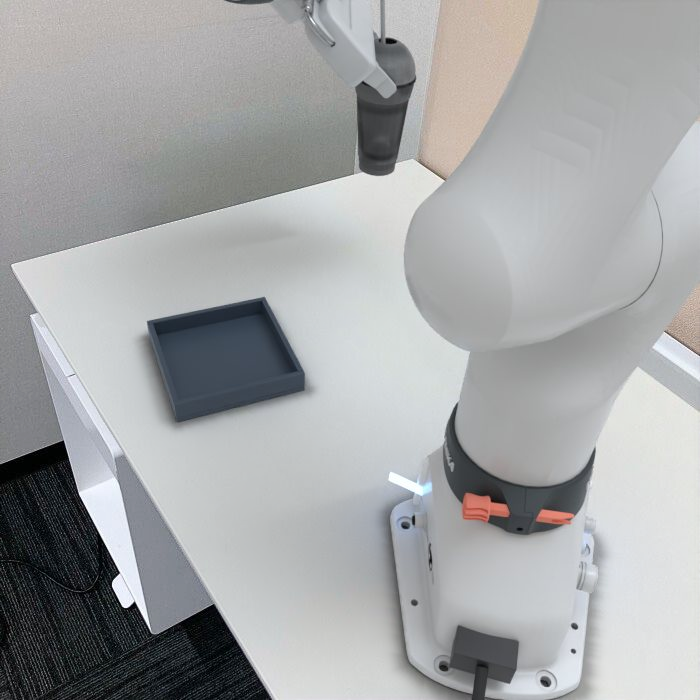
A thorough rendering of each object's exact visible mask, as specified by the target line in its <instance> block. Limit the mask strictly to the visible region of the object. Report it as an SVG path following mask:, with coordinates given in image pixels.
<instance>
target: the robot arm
mask: <svg viewBox="0 0 700 700" xmlns="http://www.w3.org/2000/svg"><path fill="white" fill-rule="evenodd" d="M224 2H227V3H232V4H237V5H247V6H248V5H251V6H252V5H264V4H269V5H270V6H271V8H273V10H274V11H275V12H276V13H277V14H278V15H279V16H280V17H281V18H282V19H283V20H284V22H285V23H286V24H287V25H288V24H289V25H291V24H294V23H296V22H298V21H299V20H300V22H302V24H303V25H304V33H305V35H306V38H307V40H308V41H309V43H310V44H311V45H312V46H313V48H314V49H315V51H316V52H317V53H318V54H319V55H320V57H321V58H322V59H323V60H324V62H325V63H326V64H327V65H328V66H329V68H330V69H331V70H332V71H333V72H334V73H335V75H336V76H337V77H338V78H339V79H340V80H341V82H342V83H344V84H345V85H346V86H348V87H349V88H354V89H355V87H356V86H357V85H358V84H360V83H361V82H362V81H364V82H365V83H367V84H369V85H370V86H372V87H373V88H375V89H376V90H377V91H378V92H379V93H380V94H381V95H382V96H383V97H384V98H389V97H390V96H391V95H392V94H393V93H395V92H396V89H397V88H396V83H395V81H394V80H393V79H392V78H391V76H390V75H389V74H388V73H385V72H384V71H383V70H382V69H381V68H380V67H379V65H378V63H377V61H376V56H375V46H374V40H376V39H379V38H381V35H379V33H378V31H377V29H376V28H375V27H374V26H373V15H372V7H371V5H370V2H369V1H368V0H224ZM532 21H533V22H532V24H531V27H530V29H529V33H528V36H527V39H526V41H525V44H524V46H523V49H522V51H521V54H520V57H519V59H518V61H517V64H516V66H515V67H514V70H513V72H512V74H511V76H510V79H509V80H508V82H507V84H506V86H505V89H504V90H503V92H502V94H501V97H500V98H499V100H498V102H497V104H496V105H495V108H494V109H493V111H492V113H491V115H490V117H489V119H488V120H487V122H486V123H485V125H484V127H483V129H482V130H481V132H480V133H479V135H478V137H477V139H476V140H475V142H473V145H472V146H471V148H470V149H469V151H468V152H467V153H466V155H465V156H464V157H463V159H462V160H461V161H460V163H459V164H458V166H457V167H456V168H455V169H454V170H453V171H452V172H451V174H450V175H449V176H448V177H447V178H446V179H445V180H444V181H443V183H441V184H440V186H438V187H437V188H436V189H435V190H434V191H433V192H432V193H431V194H430V195H429V196H428V197H427V198H425V199H424V200H423V201H422V202H421V203H420V204H419V205H418V207H416V210H415V211H414V213H413V215H412V216H411V219H410V222H409V225H408V228H407V231H406V234H405V235H406V236H405V240H404V246H403V269H404V277H405V281H406V282H405V283H406V286H407V289H408V292H409V295H410V297H411V300H412V302H413V303H414V306H415V307H416V309H417V311H418V312H419V315H420V316H421V317H422V319H424V321H425V322H426V324H427V325H428V326H429V327H430V328H431V329H432V330H433V331H434V332H435V333H436V334H437V335H439V337H441V338H442V339H444V340H445V341H446V342H448V343H449V344H451V345H452V346H455V347H456V348H458V349H461V350H462V351H466V352H469V353H468V359H467V363H466V368H465V371H464V376H463V381H462V385H461V389H460V394H459V398H458V401H457V402H456V403H455V405H454V407H453V408H452V411H451V413H450V416H449V418H448V420H447V421H446V422H447V423H446V426H445V430H444V435H443V439H444V440H443V444H442V445H441V446H440V447H437V449H436V450H434V451H433V452H431V453H429V454H428V455H427V456H426V457H424V458H423V459H422V461H421V465H420V469H419V473H418V477H417V481H416V482H414V481H412V480H409V479H408V478H405V477H403V476H401V475H399V474H396V473H394V472H392V471H390V473H389V475H388V481H390V482H391V483H393V484H395V485H398V486H401V487H402V488H405V489H407V490H409V491H411V492H413V493H414V494H413V496H412V498H411V497H410V498H409V499H407V500H404V501H401V502H399V503H397V504H396V505H395V506H394V507H393V508H392V511H391V514H390V516H389V523H390V532H391V539H392V540H391V541H392V546H393V547H392V549H393V555H394V556H393V557H394V564H395V572H396V580H397V586H398V595H399V603H400V609H401V610H400V611H401V618H402V619H401V620H402V627H403V634H404V642H405V650H406V655H407V659H408V661H409V663H410V664H411V665H412V666H413V667H414V668H415V669H417V670H418V671H419V672H420V673H421V674H423V675H424V676H426V677H427V678H429V679H431V680H433V681H434V682H437V683H439V684H441V685H442V686H445V687H447V688H451V689H453V690H456V691H459V692H463V693H466V694H469V695H471V700H486V699H485V698H487V699H495V700H552V699H556V698H560V697H563V696H565V695H567V694H569V693H571V692H573V691H575V690H576V689H577V688H578V686H580V683H581V678H582V672H583V664H584V656H585V655H584V654H585V643H586V634H587V633H586V632H587V623H588V615H589V614H588V612H589V603H590V594H592V593H594V592H595V590H596V588H597V584H598V580H599V567H598V565H596V564H593V563H594V552H595V539H594V537H593V535H594V533H595V531H596V529H597V528H596V527H597V519H596V518H593V517H590V516H587V511H588V504H589V495H590V492H591V491H592V489H593V486H594V482H593V481H592V478H593V473H594V468H595V467H594V464H595V461H596V460H595V459H596V452H597V449H596V448H597V447H596V446H597V443H598V441H599V438H600V436H601V434H602V432H603V429H604V427H605V425H606V423H607V420H608V418H609V416H610V414H611V412H612V410H613V407H614V405H615V403H616V401H617V399H618V397H619V395H620V394H621V392H622V390H623V389H624V387H625V385H626V384H627V382H628V381H629V380H630V377H631V376H632V375H633V373H634V372H635V371H636V370H637V368H638V367H639V365H640V364H641V363H642V362H643V360H644V359H645V358H646V356H647V355H648V354H649V352H650V351H651V350H652V349H653V347H654V346H655V345H656V343H657V342H658V341H659V340H660V338H661V337H662V336H663V334H664V333H665V331H666V330H667V329H668V327H669V326H670V324H671V323H672V322H673V320H674V319H675V317H676V316H677V315H678V314H679V312H680V310H681V309H682V308H683V306H684V305H685V303H686V302H687V300H688V299H690V296H691V295H692V293H693V292H694V291H696V289H697V288H698V286H699V284H700V120H698V119H699V118H700V0H538V4H537V7H536V11H535V15H534V18H533V20H532ZM403 527H406V528H403ZM440 666H445V667H446V668H447V670H446V671H443V670H442V669H441V668H440ZM541 681H545V682H546V683H547V684H548V686H545V685H543V684H542V682H541Z"/></svg>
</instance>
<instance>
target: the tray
mask: <svg viewBox="0 0 700 700" xmlns="http://www.w3.org/2000/svg"><path fill="white" fill-rule="evenodd" d="M277 319H278V318H277V317H276V315H275V314H274V312H273V309H272V308H271V305H270V304H269V302H268V300H267V298H266V297H265V296H262V297H261V296H260V297H256V298H252V299H247V300H242V301H237V302H233V303H232V302H231V303H228V304H222V305H218V306H213V307H207V308H203V309H198V310H193V311H189V312H184V313H179V314H174V315H168V316H164V317H160V318H153V319H149V320H147V321H146V326H147V331H148V332H147V333H148V337H149V340H150V344H151V347H152V350H153V353H154V356H155V359H156V362H157V365H158V368H159V371H160V374H161V378H162V380H163V381H162V382H163V384H164V387H165V389H166V394H167V396H168V399H169V402H170V405H171V408H172V411H173V415H174V418H175V420H176V422H177V423H179V422H183V421H187V420H190V419H195V418H198V417H199V418H200V417H202V416H207V415H211V414H214V413H218V412H223V411H227V410H230V409H234V408H235V409H236V408H239V407H243V406H247V405H251V404H254V403H259V402H262V401H266V400H270V399H274V398H279V397H282V396H287V395H290V394H294V393H298V392H301V391H305V387H306V385H305V384H306V383H305V381H306V372H305V371H304V369H303V367H302V365H301V362H300V361H299V359H298V358H297V355H296V354H295V352H294V349H293V347H292V346H291V344H290V342H289V340H288V339H287V337H286V335H285V333H284V330H283V329H282V327H281V325H280V323H279V320H277Z"/></svg>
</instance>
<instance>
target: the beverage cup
mask: <svg viewBox="0 0 700 700" xmlns="http://www.w3.org/2000/svg"><path fill="white" fill-rule="evenodd" d="M379 7H380V8H379V9H380V11H379V12H380V13H379V14H380V16H379V17H380V18H379V19H380V38H379V39H376V40H374V46H375V56H376V61H377V63H378V65H379V67H380V68H381V69H382V70H383V71H384V72H385V73H388V74H389V75H390V76H391V78H392V79H393V80H394V81H395V83H396V88H397V89H396V92H395V93H393V94H392V95H391V96H390V97H389V98H384V97H383V96H382V95H381V94H380V93H379V92H378V91H377V90H376V89H375V88H373V87H372V86H370V85H369V84H367V83H365V82H364V81H362V82H361V83H360V84H358V85H357V86H356V87H354V89H355V94H356V123H357V124H356V126H357V127H356V128H357V131H356V133H357V155H358V168H359V170H360V171H361V172H362V173H364V174H366V175H369V176H372V177H373V176H374V177H384V176H389V175H391V174H393V172H395V169H396V164H397V160H398V157H399V154H400V153H399V152H400V147H401V143H402V136H403V133H404V132H403V131H404V127H405V122H406V117H407V111H408V108H409V107H408V106H409V102H410V99H411V97H412V93H413V89H414V86H415V83H416V82H417V75H416V73H417V71H416V63H415V59H414V56H413V55H412V52H411V51H410V49H409V48H408V47H407V46H406V44H404V43H403V42H402V41H400V40H399V39H396V38H393V37H390V36H389V37H388V36H387V37H386V0H379Z"/></svg>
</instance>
